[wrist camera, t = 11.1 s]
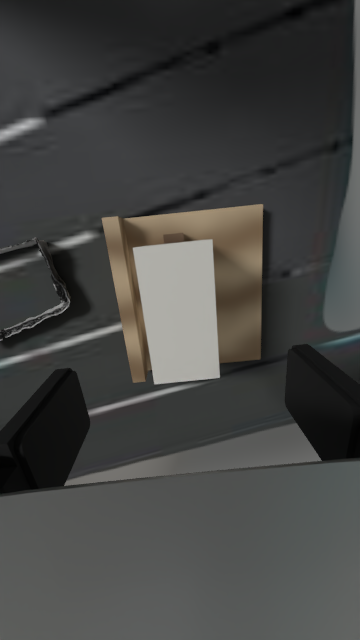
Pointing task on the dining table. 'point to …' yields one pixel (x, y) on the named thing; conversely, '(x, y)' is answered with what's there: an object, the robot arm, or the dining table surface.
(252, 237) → the cleat board
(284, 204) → the dining table surface
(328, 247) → the dining table surface
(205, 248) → the light grey block
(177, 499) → the robot arm
